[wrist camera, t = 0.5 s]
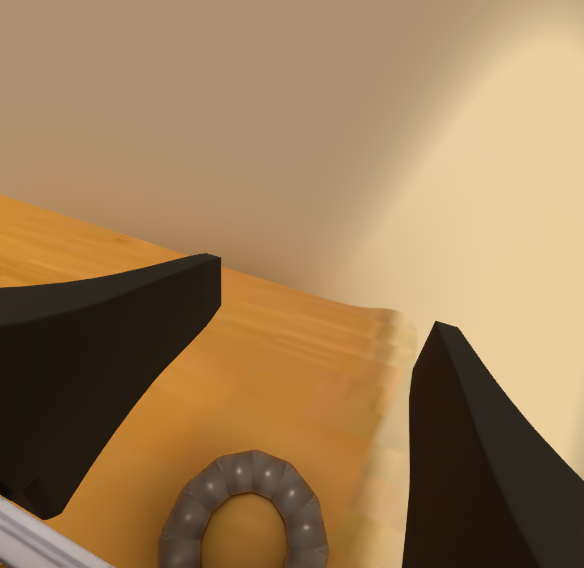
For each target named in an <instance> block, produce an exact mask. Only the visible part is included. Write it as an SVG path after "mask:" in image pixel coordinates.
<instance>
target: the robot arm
mask: <svg viewBox="0 0 584 568" xmlns="http://www.w3.org/2000/svg"><path fill="white" fill-rule="evenodd" d="M220 306H221V258H220V257H217V256H214V255H210V254H207V253H204V254H198V255H193V256H188V257H184V258H180V259H176V260H172V261H168V262H164V263H161V264H157V265H153V266H149V267H145V268H140V269H136V270H132V271H127V272H123V273H118V274H114V275H109V276H104V277H98V278H92V279H85V280H79V281H72V282H64V283H54V284H44V285H34V286H22V287H5V288H0V495H2V496H3V497H5V498H6V499H8V500H10V501H13V502H14V503H16V504H18V505H19V506H21V507H22V508H24V509H26V510H27V511H29V512H31V513H32V514H34V515H35V516H37V517H39V518H40V519H42V520H48V519H50V518H53V517H55V516H57V515H59V514H61V513H62V512H63V510H64V508H65V507H66V505H67V503H68V502H69V500H70V499H71V497H72V495H73V494H74V492H75V491H76V489H77V488H78V486H79V485H80V483H81V481H82V480H83V478H84V477H85V475H86V474H87V472H88V471H89V469H90V467H91V466H92V464H93V463H94V461H95V460H96V459H97V457H98V456H99V454H100V453H101V451H102V450H103V448H104V447H105V446H106V444H107V443H108V441H109V440H110V438H111V437H112V435H113V434H114V433H115V431H116V430H117V428H118V427H119V426H120V424H121V423H122V422H123V420H124V419H125V418H126V416H127V415H128V414H129V412H130V411H131V410H132V408H133V407H134V406H135V404H136V403H137V402H138V401H139V399H140V398H141V397H142V395H143V394H144V393H145V392H146V390H147V389H148V388H149V387H150V385H151V384H152V383H153V382H154V380H155V379H156V378H157V377H158V376H159V375H160V374H161V373H162V371H163V370H164V369H165V368H166V367H167V366H168V365H169V364H170V363H171V362H172V361H173V360H174V359H175V358H176V357H177V356H178V355H179V354H180V353H181V352H182V351H183V350H184V349H185V348H186V347H187V346H188V345H189V344H190V343H191V342H192V341H193V340H194V338H195V337H196V336H197V335H198V334H199V333H200V332H201V331H202V330H203V329H204V328H205V327H206V326H207V324H208V323H209V322H210V320H211V319H212V318H213V316H214V315H215V313H216V312H217V310H218V309H219V308H220ZM409 443H410V486H409V500H408V511H407V523H406V533H405V543H404V552H403V562H402V568H584V481H583V480H582V479H581V478H580V477H579V476H578V475H577V474H576V473H575V472H574V471H573V470H572V469H571V468H570V467H569V466H568V464H567V463H565V461H564V460H563V459H562V458H561V457H560V456H559V455H558V454H557V453H556V452H555V451H554V449H553V448H552V447H551V446H550V445H549V444H548V443H547V442H546V441H545V440H544V439H543V438H542V437H541V435H540V434H539V433H538V432H537V431H536V430H535V429H534V428H533V427H532V425H531V424H530V423H529V422H528V421H527V419H526V418H525V417H524V416H523V415H522V414H521V412H520V411H519V410H518V408H517V407H516V406H515V405H514V404H513V403H512V401H511V400H510V399H509V397H508V396H507V395H506V394H505V392H504V391H503V390H502V389H501V387H500V386H499V384H498V383H497V382H496V380H495V379H494V378H493V376H492V375H491V374H490V372H489V371H488V369H487V368H486V367H485V365H484V364H483V363H482V361H481V360H480V358H479V357H478V355H477V354H476V353H475V351H474V350H473V348H472V347H471V345H470V344H469V342H468V341H467V339H466V338H465V337H464V335H463V334H462V332H461V331H460V330H459V328H458V327H454V326H451V325H448V324H445V323H441V322H438V321H435V323H434V325H433V327H432V330H431V332H430V334H429V336H428V338H427V340H426V342H425V345H424V347H423V349H422V351H421V353H420V355H419V357H418V359H417V361H416V363H415V366H414V368H413V371H412V379H411V387H410V395H409ZM0 563H1V564H3V565H4V566H6V567H7V568H115V567H113V566H112V565H110V564H109V563H107V562H105V561H104V560H102V559H100V558H99V557H97V556H96V555H94V554H92V553H91V552H89V551H88V550H86V549H84V548H83V547H81V546H79V545H78V544H76V543H75V542H73V541H71V540H70V539H68V538H67V537H65V536H63V535H62V534H60V533H59V532H57V531H55V530H54V529H52V528H50V527H49V526H47V525H46V524H44V523H42V522H41V521H39V520H38V519H36V518H34V517H33V516H31V515H29V514H28V513H26V512H25V511H23V510H21V509H20V508H18V507H17V506H15V505H13V504H12V503H10V502H8V501H7V500H5V499H4V498H2V497H0Z"/></svg>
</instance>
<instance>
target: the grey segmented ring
mask: <svg viewBox="0 0 584 568" xmlns="http://www.w3.org/2000/svg"><path fill="white" fill-rule="evenodd" d="M249 491H252V492H255V493H257V494H259V495H262V496H264V497H266V498H269V499H271V500H272V502H273V503H274V505H275V506H276V508H277V509H278V511H279V512H280V514H281V515H282V516H283V518H284V520H285V526H286V533H287V540H288V547H289V548H288V552H287V556H286V559H285V563H284V567H283V568H326V565H327V560H328V553H329V549H328V542H327V538H326V533H325V528H324V523H323V519H322V514H321V509H320V504H319V501H318V498H317V496H316V495H315V493H314V492H313V491H312V490H311V488H310V487H309V486H308V484H307V483H306V482H305V480H304V479H303V478H302V476H301V475H300V474H299V472H298V471H297V470H296V469H295V467H294V466H293V465H292V464H291V463H289V462H287V461H284V460H282V459H279V458H277V457H274V456H272V455H269V454H267V453H264V452H262V451H259V450H250V451H245V452H240V453H235V454H230V455H225V456H221V457H218V458H217V459H215V460H214V461H213V462H211V463H210V464H209V465H208V466H207V467H206V468H204V469H203V470H202V471H201V472H200V473H198V474H197V475H196V476H195V477H194V478H193V479H191V480H190V481H189V482H188V483H187V484H186V485H185V486H184V487H183V488H182V490H181V492H180V494H179V496H178V498H177V500H176V502H175V504H174V506H173V508H172V510H171V512H170V514H169V516H168V518H167V521H166V523H165V525H164V527H163V529H162V531H161V533H160V537H159V542H158V556H157V568H201V538H202V535H203V533H204V531H205V528H206V526H207V523H208V521H209V518H210V516H211V514H212V512H213V511H214V510H216V509H217V508H218V507H219V506H220V505H221V504H222V503H223V502H224V501H225V500H226V499H227V498H228V497H229V496H232V495H236V494H241V493H245V492H249Z"/></svg>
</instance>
